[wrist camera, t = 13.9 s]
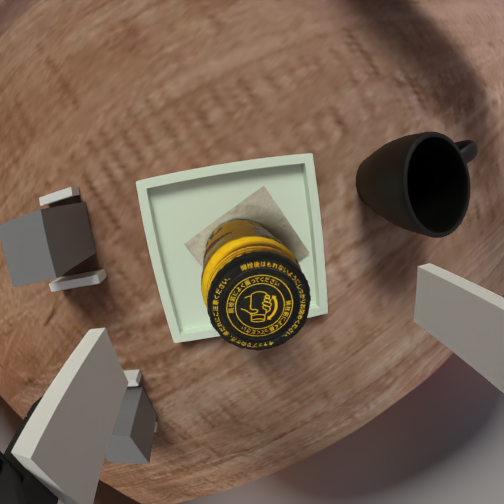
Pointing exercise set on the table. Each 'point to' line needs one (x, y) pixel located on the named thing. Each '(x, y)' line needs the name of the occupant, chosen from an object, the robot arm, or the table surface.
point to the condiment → (253, 274)
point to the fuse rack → (59, 262)
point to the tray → (210, 209)
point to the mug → (419, 182)
